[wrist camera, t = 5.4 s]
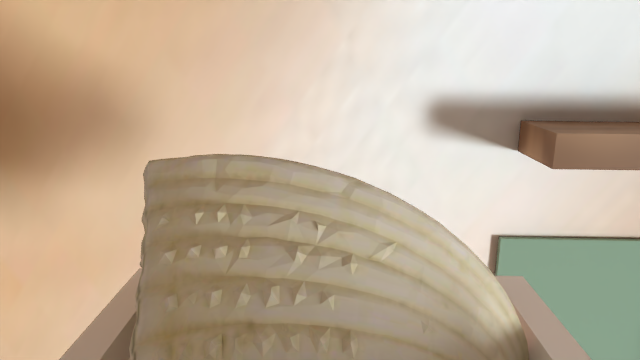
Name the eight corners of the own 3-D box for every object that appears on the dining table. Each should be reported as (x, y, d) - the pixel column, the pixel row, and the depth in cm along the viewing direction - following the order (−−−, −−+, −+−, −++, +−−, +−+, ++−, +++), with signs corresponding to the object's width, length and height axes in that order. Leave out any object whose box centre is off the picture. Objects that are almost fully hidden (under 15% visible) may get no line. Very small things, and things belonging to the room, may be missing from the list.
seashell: (355, 581, 13) (19, 652, 9) (310, 288, 18) (84, 236, 14) (664, 526, 9) (305, 614, 4) (490, 160, 14) (244, 22, 9)
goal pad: (498, 236, 26) (500, 238, 26) (734, 240, 26) (738, 242, 26) (478, 433, 29) (480, 437, 29) (690, 438, 29) (693, 442, 29)
